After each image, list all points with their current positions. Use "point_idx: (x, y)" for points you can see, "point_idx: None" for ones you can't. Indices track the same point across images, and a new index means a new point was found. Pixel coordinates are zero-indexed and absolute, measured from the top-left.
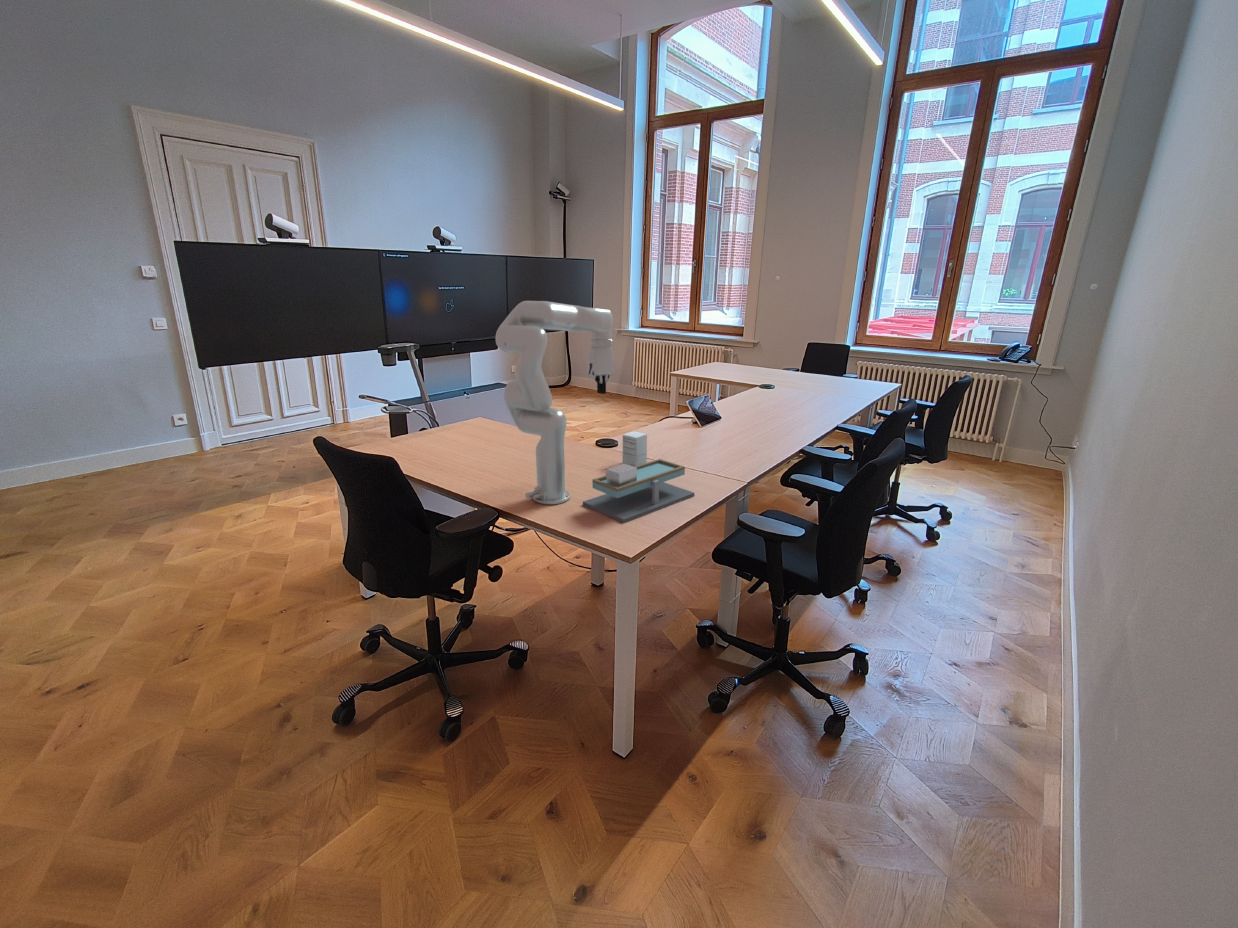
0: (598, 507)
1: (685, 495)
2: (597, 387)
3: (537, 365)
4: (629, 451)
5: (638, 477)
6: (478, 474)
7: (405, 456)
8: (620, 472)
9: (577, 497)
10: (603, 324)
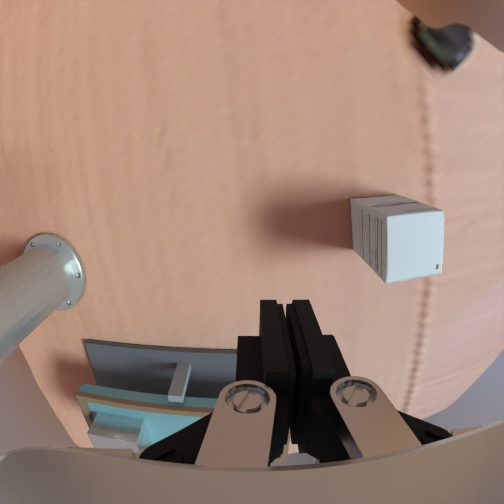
0: (97, 377)
1: None
2: (238, 360)
3: None
4: (365, 236)
5: (171, 434)
6: (24, 38)
7: None
8: None
9: (95, 305)
10: None
